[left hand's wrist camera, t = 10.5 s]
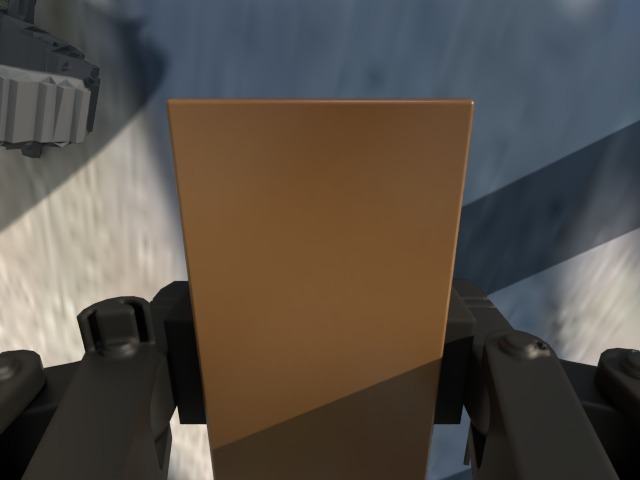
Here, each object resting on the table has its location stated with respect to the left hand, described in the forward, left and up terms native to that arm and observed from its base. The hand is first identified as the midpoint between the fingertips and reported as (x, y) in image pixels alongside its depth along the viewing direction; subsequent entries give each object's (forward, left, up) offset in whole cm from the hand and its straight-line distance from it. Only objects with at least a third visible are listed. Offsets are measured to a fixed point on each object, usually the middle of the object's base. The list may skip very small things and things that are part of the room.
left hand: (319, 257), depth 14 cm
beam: (+20, +4, -1) cm, 21 cm away
